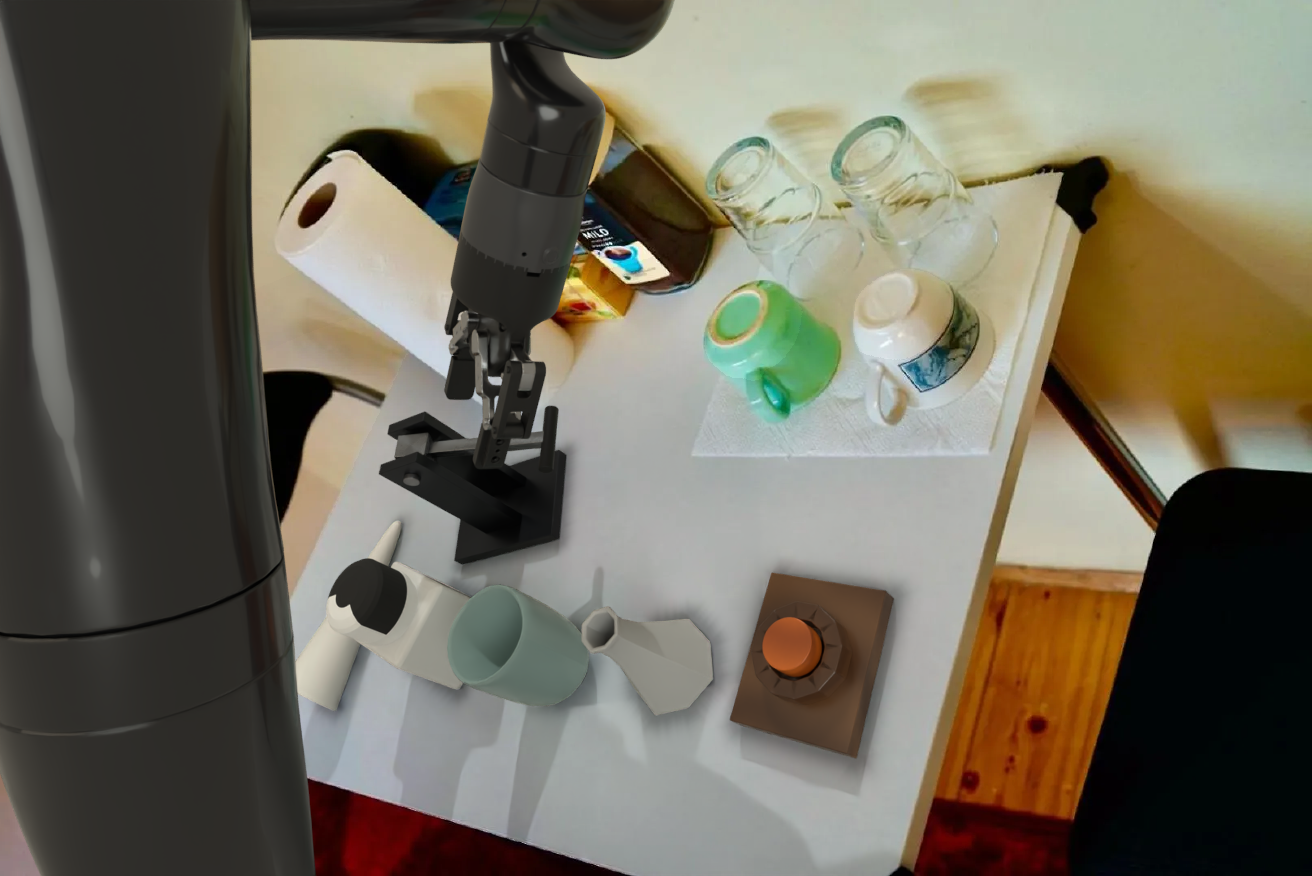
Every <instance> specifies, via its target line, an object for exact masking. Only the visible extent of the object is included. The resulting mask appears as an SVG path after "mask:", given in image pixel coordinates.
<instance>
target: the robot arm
mask: <svg viewBox="0 0 1312 876" xmlns="http://www.w3.org/2000/svg"><path fill="white" fill-rule="evenodd" d="M674 5H675V0H0V777H1V780H2V783H3V786H4V789H5V792H6V795H7V797H8V800H9V802H10V805H11V808H12V810H13V813H14V816H15V819H16V820H17V823H18V826H19V828H20V831H21V833H22V836H23V837H24V841H25V843H26V847H27V848H28V850H29V854H30V855H31V857H32V860H33V862H34V865H35V866H36V869H37V871H38V873H39V876H317V871H316V860H315V852H314V840H313V839H314V838H313V828H312V827H313V826H312V815H311V814H312V813H311V805H310V794H309V783H308V773H307V764H306V755H305V746H304V740H303V731H302V723H301V711H300V705H299V694H298V691H297V678H296V662H295V661H296V649H295V647H296V646H295V636H294V628H293V619H292V611H291V601H290V592H289V583H288V576H287V566H286V557H285V547H284V539H283V534H282V528H281V521H280V516H279V511H278V506H277V500H276V492H275V485H274V477H273V470H272V469H273V468H272V461H271V460H272V459H271V451H270V439H269V426H268V415H267V404H266V403H267V401H266V392H265V379H264V368H263V359H262V357H263V356H262V347H261V335H260V327H259V326H260V325H259V318H258V317H259V316H258V306H257V305H258V303H257V294H256V293H257V292H256V280H255V266H254V264H255V263H254V262H255V261H254V238H253V237H254V236H253V139H252V137H253V136H252V135H253V131H252V130H253V129H252V121H253V119H252V117H253V116H252V113H253V111H252V100H253V99H252V92H253V91H252V90H253V89H252V42H255V41H334V42H335V41H341V42H370V43H371V42H372V43H396V44H397V43H398V44H432V45H433V44H436V45H439V44H441V45H442V44H443V45H457V44H459V45H460V44H461V45H462V44H463V45H465V44H489V57H490V72H491V92H492V93H491V102H490V105H489V109H488V116H487V120H486V125H485V130H484V135H483V140H482V144H481V149H480V154H479V158H478V161H477V166H476V168H475V171H474V173H473V174H474V175H473V177H472V180H471V182H470V186H469V188H468V193H467V197H466V202H465V206H464V211H463V216H462V217H463V218H462V220H461V221H462V222H461V227H460V232H459V236H458V241H457V246H456V251H455V255H454V261H453V266H452V271H451V275H450V288H451V291H452V292H451V297H450V302H449V305H448V310H447V314H446V315H447V316H446V319H445V323H444V333H445V335H446V336H452V337H451V339H450V340H449V343H448V350H449V354H450V359H449V360H450V361H449V364H448V370H447V375H446V379H445V384H444V388H443V391H444V394H445V397H446V399H448V400H449V401H469V400H471V399H472V398H473V397H474V394H476V395H477V396H478V397H480V399H481V403H482V405H481V407H482V409H481V410H482V411H481V412H482V420H481V424H480V427H479V432H478V434H477V435H478V436H477V438H478V439H477V443H476V447H475V451H474V455H473V462H474V464H475V467H476V468H477V469H499V468H501V467H502V466H503V465H504V463H505V464H506V459H507V456H508V452H509V451H508V448H509V445H510V441H511V439H529V438H530V436H531V432H533V427H534V424H535V420H536V415H537V412H538V407H539V405H540V400H541V395H542V392H543V387H544V383H545V380H546V375H547V366H546V365H547V364H546V363H545V362H544V361H535V360H532V359H531V358H530V355H531V352H532V338H531V335H532V332H531V331H532V330H533V329H534V328H535V327H536V326H538V325H539V324H541V323H543V322H545V321H547V320H549V319H551V318H552V317H553V316H554V315H555V314H556V313H557V311H558V309H559V306H560V303H561V299H562V295H563V291H564V288H565V285H566V281H567V278H568V275H569V270H570V267H571V263H572V260H573V257H574V252H575V250H576V245H577V241H578V238H579V235H580V232H581V227H582V223H583V217H584V211H585V202H586V198H587V197H586V196H587V192H588V188H589V184H590V181H591V177H592V173H593V170H594V167H595V164H596V163H595V162H596V159H597V157H598V152H599V149H600V145H601V142H602V137H603V134H604V130H605V124H606V118H607V117H606V116H607V115H606V107H605V104H604V101H603V100H602V99H601V98H600V96H599V95H598V94H597V93H596V92H595V91H594V90H593V89H592V88H591V87H590V86H589V85H587V83H585V82H584V81H583V80H582V79H580V77H579V76H578V75H576V73H574V72H573V70H572V69H571V67H570V66H569V65H568V63H567V61H566V60H567V59H566V57H565V54H570V55H575V56H579V57H584V58H590V59H597V60H618V59H623V58H626V57H629V56H631V55H634V54H635V53H638V52H640V51H641V50H643V49H644V48H645V47H647V46H648V45H649V44H650V43H652V42H653V41H654V40H655V38H657V36H658V35H659V34H660V33H661V32H662V30H663V28H664V27H665V26H666V24H667V22H668V20H669V19H670V16H671V13H672V10H673V7H674ZM459 316H460V319H459ZM489 378H500V379H501V384H493V383H491V382H490V380H489ZM496 397H497V401H496V404H495V400H496ZM495 405H496V406H495Z"/></svg>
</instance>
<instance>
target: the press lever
mask: <svg viewBox="0 0 1312 876" xmlns="http://www.w3.org/2000/svg"><path fill="white" fill-rule="evenodd" d="M543 411H544V413H543V421H542V422H543V423H542V430H540V431H532V432H531V436H530V438H529V439H511V441H510V445H509V448H508V452H516V451H525V450H526V451H527V450H537V449H540V450H539V456H540V459H539V471H540V472H542V473H551V472H552V471H553V466H554V455H555V451H556V445H557V443H556V442H557V434H558V433H557V432H558V422H559V412H560V411H559V408H558V407H557V406H555V405H547V406H545V407H544V410H543ZM477 439H478V437H467V439H458V440H448V441H437V442H435V441H434V439H433V438H432V437H431V436H430V434H429V433H420V434H410V435H400V436H398V440H396V445H395V451H394V456H393V457H394V460H395V459H397V458H400V457H403V456H406V455H409V454H412V453H414V452H419V453H421V454H423V455H424V456H426V457H428V458H429V459H431V460H433V461H434V462H436V463H437V458H443V457H454V456H464V455H474V451H475V447H476V443H477Z"/></svg>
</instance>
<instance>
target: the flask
mask: <svg viewBox="0 0 1312 876" xmlns="http://www.w3.org/2000/svg"><path fill="white" fill-rule="evenodd" d="M581 634H582V642H583V644H584V645H585V646H586V648H587V649H588V653H590V654H592V655H596V654H597V655H598V654H599V653H600V654H603V655H604V656H607V657H608V658H609V659H611V660H612V661H613V662H614V663H615V664H616V665H617V666H619V667H620V669H621V670H622V672H623V673H624V675H625V677H626V678H627V680H628V682H629V683H630V685H631V686H632V688H633V689H634V690H635V691H636V693H637V694H638V695H639V697H640V698H641V700H643V702H644V703H645V704H646V705H647V707H648V708H649V709H650V711H651V712H652V713H653V714H654V717H655V716H656V717H657V716H661V715H664V714H669V713H674V712H677V711H682V710H687V709H689V708H690V707H691V706H692V705H693V703H695V701H696V700H697V698H699V696H700V695H701V694H702V693H703V692H704V690H705V689H706V688H707V687H708V686H709V685H710V683H711V682H712V681H713V680H714V671H713V670H714V669H713V660H712V657H713V656H712V647H711V641H710V640H709V639H708V638H707V636H705V634H704V633H703V632H702V631H701V630H700V629H699V628H698V627H697V626H696V625H695V624H694V622H693V621H692V620H691V619H690V618H681V619H671V620H669V619H668V620H657V621H656V620H655V621H635V620H630V619H627V618H626V619H625V618H623V617H621V616H618V614H617V613H616V612H615V611H614V610H613V608H612V607H611V606H609V605H607V606H603V607H599V608H597V609H594V610H592V611H591V612H590V613H589V614H588V616H587V617H586V618H585V619H584V621H582V623H581Z"/></svg>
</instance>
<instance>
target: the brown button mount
mask: <svg viewBox="0 0 1312 876" xmlns="http://www.w3.org/2000/svg"><path fill="white" fill-rule="evenodd" d="M894 601H895V598H894V597H893V596H892V595H891V594H890V593H889V592H888V591H887V590H885V589H878V588H872V587H866V586H859V585H853V584H847V583H841V582H835V581H828V580H823V579H816V578H811V577H803V576H797V575H790V574H785V573H779V572H771V573H770V575H769V579H768V582H767V587H766V590H765V593H764V596H763V600H762V604H761V608H760V610H759V611H760V612H759V613H758V618H757V621H756V625H755V629H754V632H753V635H752V639H751V642H750V646H749V649H748V653H747V657H746V660H745V664H744V667H743V671H742V674H741V677H740V682H739V685H738V688H737V693H736V696H735V699H734V702H733V706H732V709H731V712H730V717H729V721H730V722H732V723H735V724H737V725H738V726H741V727H745V728H748V729H752V730H755V731H758V732H762V733H765V734H769V735H772V736H775V737H779V738H782V739H786V740H790V741H793V742H796V743H799V744H803V745H807V746H810V747H813V748H817V749H821V750H823V751H826V752H830V753H834V754H837V755H841V756H845V757H848V758H852V759H855V760H857V758H858V754H859V751H860V746H861V743H862V738H863V734H864V730H865V726H866V720H867V717H868V711H869V709H870V703H871V700H872V695H873V691H874V687H875V683H876V678H877V674H878V669H879V665H880V661H881V656H882V652H883V648H884V644H885V639H886V636H887V630H888V627H889V622H890V618H891V614H892V609H893V606H894ZM786 617H793V618H797V619H800V620H801V621H803V622H804V623H806V624H807V625H808V626H810V627H811V628H812V629H814V630H815V631H816V632H817V634H818V635H819V637H820V640H821V644H822V653H821V657H820V660H819V662H818V664H817V665H816V667H815V668H814V669H813V670H812V671H811V672H809V673H808V674H806V675H803V676H800V677H791V676H787V675H785V674H783V673H782V672H780V671H778V670H777V669H775V668H773V667H772V666H771V665H770V664H769V663H768V662H767V661H766V659H765V657H764V654H763V648H762V645H763V639H764V636H765V633H766V631H767V630H768V628H769V627H770V626H771V625H772V624H773V623H774V622H776V621H777V620H779V619H782V618H786Z"/></svg>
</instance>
